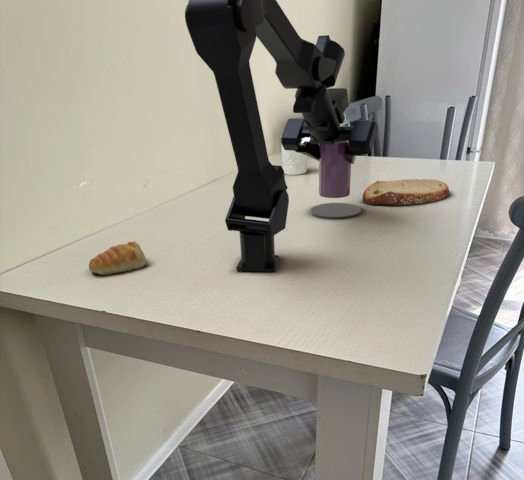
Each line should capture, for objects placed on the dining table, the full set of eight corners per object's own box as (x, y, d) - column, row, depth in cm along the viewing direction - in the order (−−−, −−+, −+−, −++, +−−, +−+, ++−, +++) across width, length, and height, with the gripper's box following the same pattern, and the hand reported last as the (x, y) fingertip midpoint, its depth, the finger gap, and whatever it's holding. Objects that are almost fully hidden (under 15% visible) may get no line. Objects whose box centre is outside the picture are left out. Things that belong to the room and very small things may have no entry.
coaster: (361, 219, 107) (361, 216, 106) (308, 219, 108) (308, 216, 108) (360, 204, 116) (360, 202, 116) (312, 205, 118) (312, 202, 117)
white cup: (276, 172, 150) (275, 135, 145) (300, 168, 152) (300, 132, 147) (289, 176, 144) (288, 138, 138) (313, 173, 146) (313, 135, 141)
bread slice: (451, 190, 123) (454, 174, 121) (438, 210, 109) (440, 192, 107) (378, 185, 130) (379, 170, 128) (357, 204, 117) (358, 187, 115)
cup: (324, 199, 107) (325, 143, 101) (315, 192, 113) (315, 138, 107) (354, 196, 108) (357, 141, 102) (343, 189, 114) (345, 136, 108)
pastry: (99, 280, 84) (94, 258, 82) (83, 270, 89) (78, 249, 87) (150, 265, 89) (146, 244, 87) (133, 256, 94) (129, 236, 92)
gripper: (378, 71, 91) (391, 129, 105) (285, 73, 100) (309, 127, 113) (361, 125, 90) (376, 177, 103) (268, 122, 98) (293, 171, 112)
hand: (337, 161), depth 108 cm, fingers closed on cup, 7 cm apart
